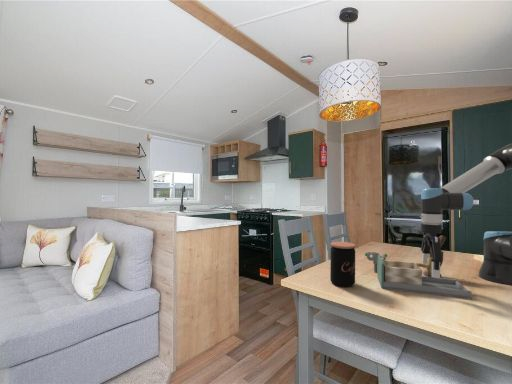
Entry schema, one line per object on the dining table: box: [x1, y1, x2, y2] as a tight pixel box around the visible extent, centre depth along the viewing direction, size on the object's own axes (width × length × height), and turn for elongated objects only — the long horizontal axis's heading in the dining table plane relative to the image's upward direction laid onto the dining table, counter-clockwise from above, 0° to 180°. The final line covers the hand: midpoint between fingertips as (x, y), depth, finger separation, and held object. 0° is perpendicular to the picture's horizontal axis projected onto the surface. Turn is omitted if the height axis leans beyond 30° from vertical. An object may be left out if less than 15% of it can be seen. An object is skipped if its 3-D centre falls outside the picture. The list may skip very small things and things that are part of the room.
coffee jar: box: [329, 241, 356, 288], centre depth 117 cm, size 11×11×18 cm
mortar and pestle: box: [421, 234, 447, 278], centre depth 129 cm, size 12×9×20 cm
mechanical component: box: [364, 251, 388, 274], centre depth 133 cm, size 3×10×10 cm, turn 79°
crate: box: [382, 258, 433, 285], centre depth 115 cm, size 20×12×12 cm, turn 71°
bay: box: [377, 254, 473, 300], centre depth 113 cm, size 32×15×11 cm, turn 71°
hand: (430, 272), depth 112 cm, fingers open, 13 cm apart
